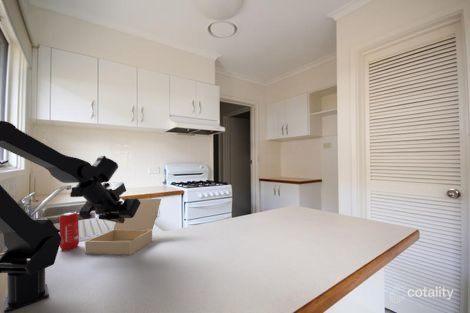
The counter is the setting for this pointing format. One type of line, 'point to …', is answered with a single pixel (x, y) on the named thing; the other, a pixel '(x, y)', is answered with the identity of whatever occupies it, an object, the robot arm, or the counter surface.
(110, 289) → the counter surface
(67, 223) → the beverage can
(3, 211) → the robot arm
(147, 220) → the mailer lid
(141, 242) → the mailer box
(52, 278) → the counter surface
